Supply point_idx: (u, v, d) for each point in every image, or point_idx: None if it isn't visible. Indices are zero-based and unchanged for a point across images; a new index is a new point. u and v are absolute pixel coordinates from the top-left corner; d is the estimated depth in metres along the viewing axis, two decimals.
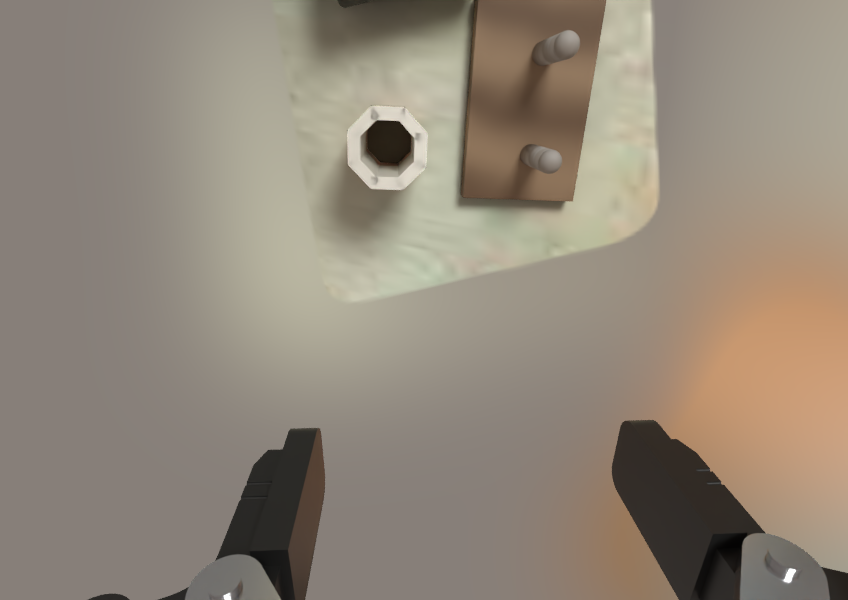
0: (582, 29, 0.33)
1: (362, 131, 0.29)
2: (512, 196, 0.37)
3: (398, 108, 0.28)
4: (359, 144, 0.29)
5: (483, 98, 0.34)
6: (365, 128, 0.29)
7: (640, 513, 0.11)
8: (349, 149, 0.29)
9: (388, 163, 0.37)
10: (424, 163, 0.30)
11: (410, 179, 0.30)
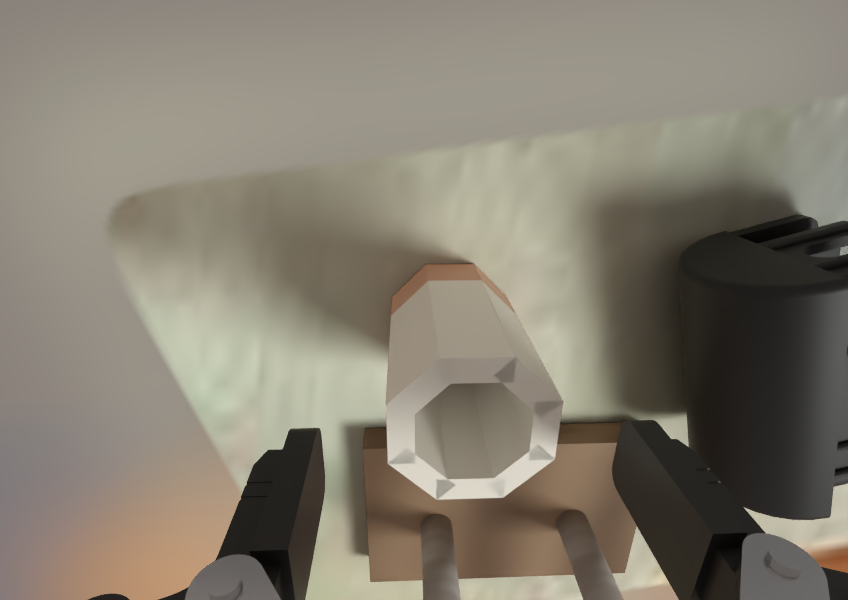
0: None
1: (511, 386, 0.13)
2: (370, 512, 0.23)
3: (553, 449, 0.14)
4: (484, 380, 0.13)
5: None
6: (517, 391, 0.13)
7: (640, 513, 0.11)
8: (473, 361, 0.12)
9: None
10: (444, 495, 0.14)
11: (411, 476, 0.14)
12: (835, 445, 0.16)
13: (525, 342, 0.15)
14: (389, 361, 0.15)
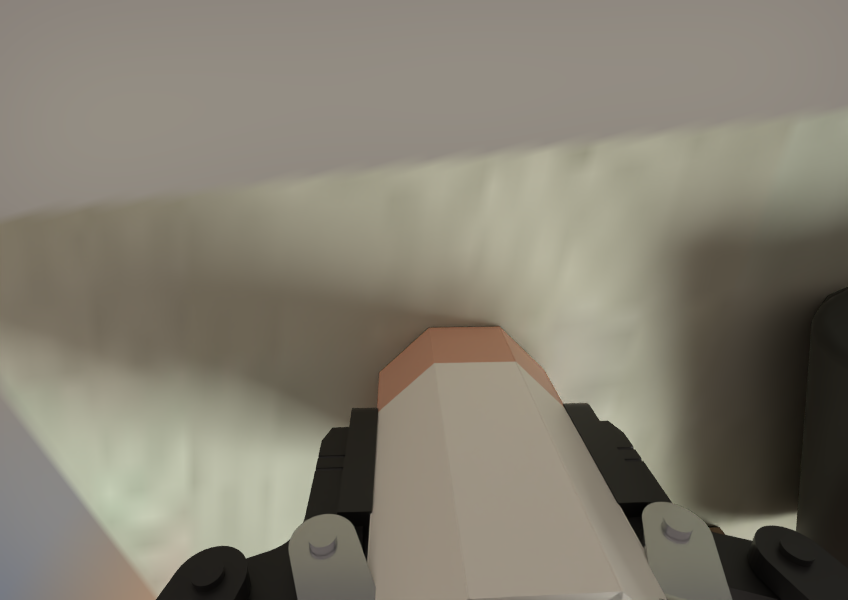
0: None
1: None
2: None
3: None
4: None
5: None
6: None
7: None
8: None
9: None
10: None
11: None
12: None
13: (601, 489, 0.09)
14: (371, 530, 0.09)
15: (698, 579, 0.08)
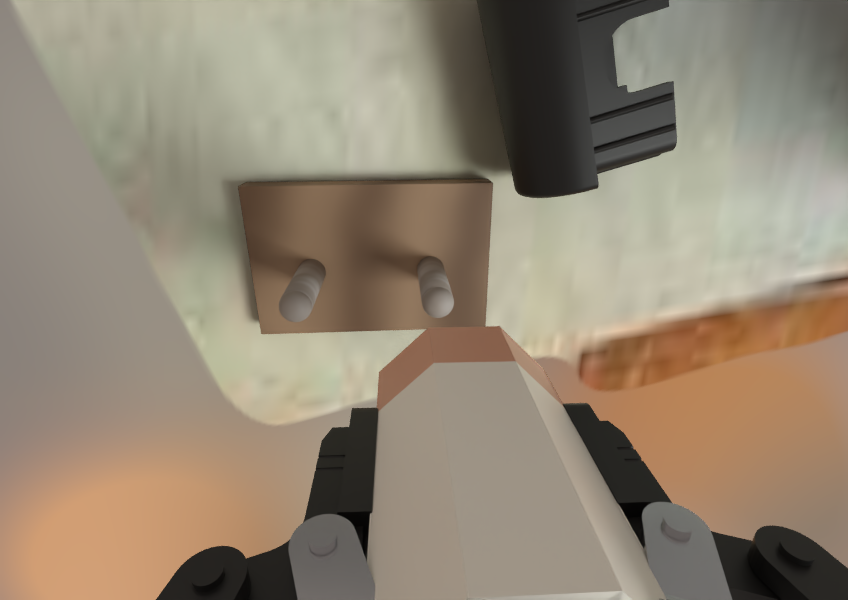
0: (456, 308, 0.29)
1: None
2: (253, 256, 0.27)
3: None
4: None
5: (374, 201, 0.26)
6: None
7: None
8: None
9: None
10: None
11: None
12: (587, 106, 0.20)
13: (601, 489, 0.09)
14: (371, 530, 0.09)
15: (698, 579, 0.08)
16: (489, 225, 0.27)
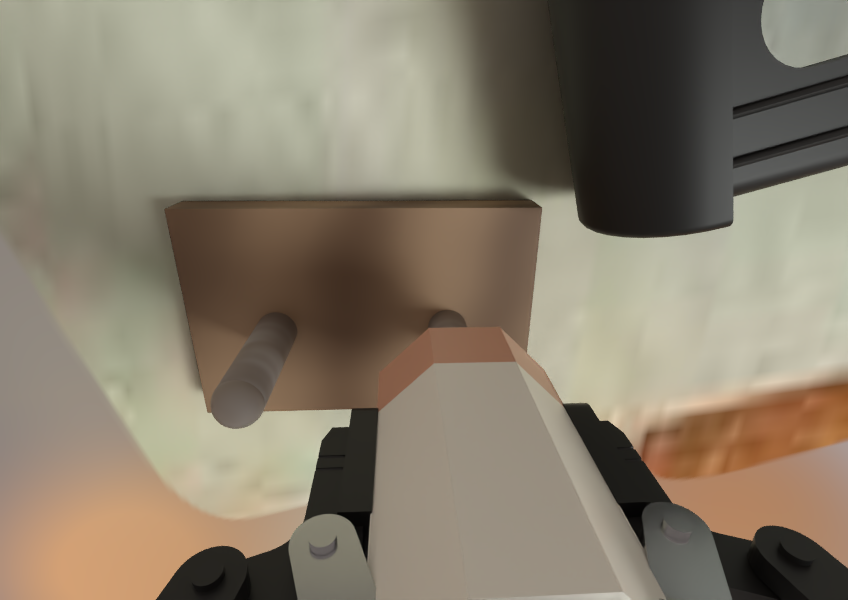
0: None
1: None
2: (191, 308, 0.18)
3: None
4: None
5: (367, 233, 0.18)
6: None
7: None
8: None
9: None
10: None
11: None
12: (730, 90, 0.12)
13: (601, 490, 0.09)
14: (371, 531, 0.09)
15: (697, 579, 0.08)
16: (534, 267, 0.18)
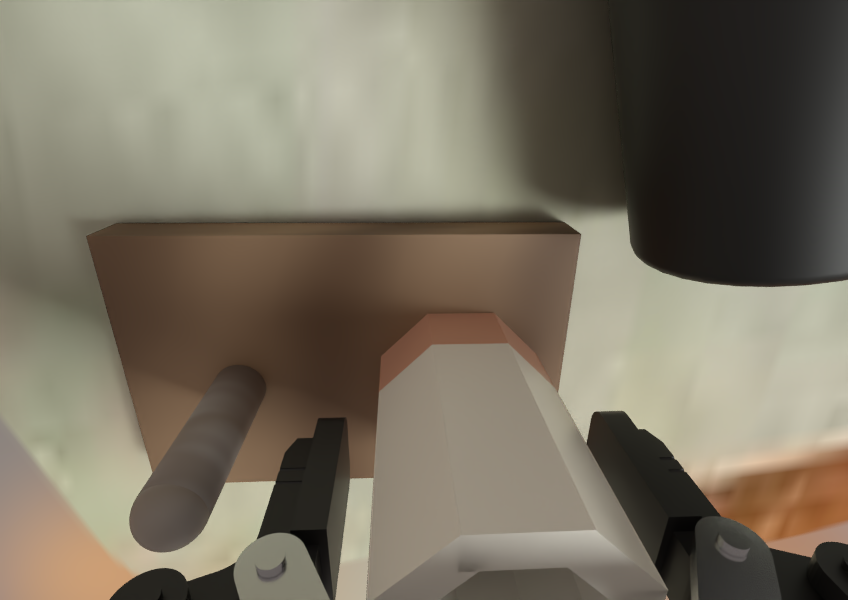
0: None
1: (584, 572, 0.07)
2: (128, 361, 0.14)
3: None
4: (537, 563, 0.07)
5: (354, 266, 0.14)
6: (592, 578, 0.08)
7: None
8: (521, 538, 0.07)
9: None
10: None
11: None
12: None
13: (584, 455, 0.10)
14: (374, 491, 0.10)
15: (751, 597, 0.07)
16: (567, 309, 0.14)
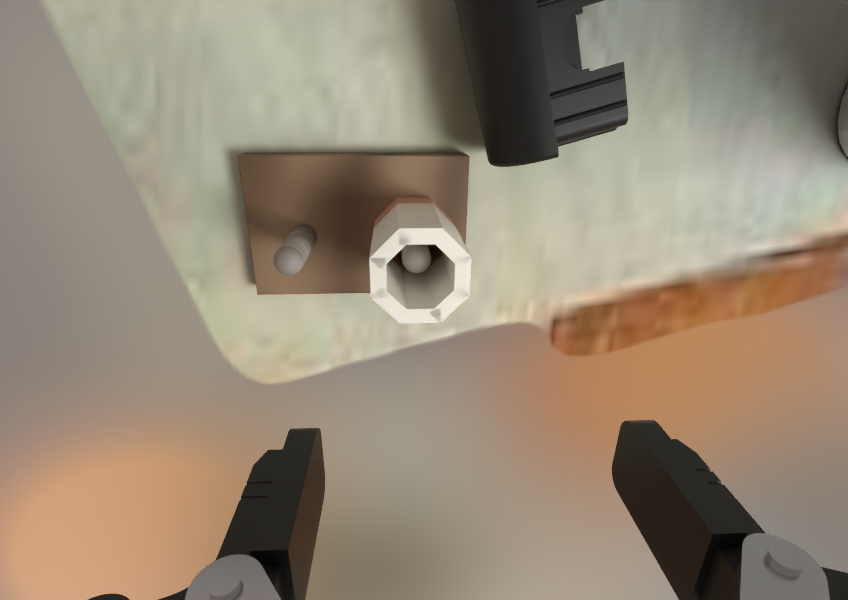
0: None
1: (441, 247, 0.22)
2: (250, 221, 0.29)
3: (468, 288, 0.23)
4: (425, 243, 0.22)
5: (361, 172, 0.29)
6: (444, 250, 0.23)
7: (640, 513, 0.11)
8: (418, 230, 0.22)
9: None
10: (405, 321, 0.24)
11: (384, 306, 0.23)
12: (547, 82, 0.23)
13: (455, 234, 0.25)
14: (371, 244, 0.25)
15: None
16: (466, 195, 0.29)
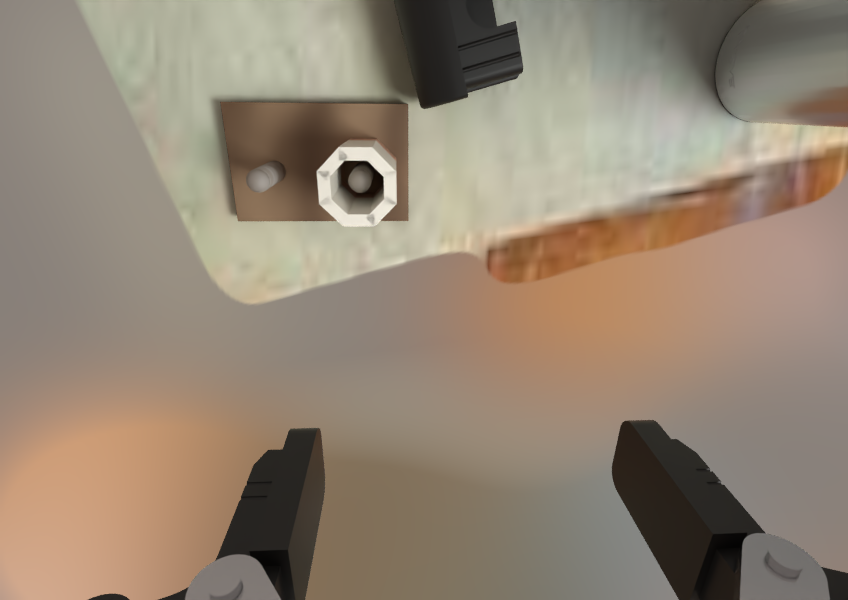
0: None
1: (372, 162, 0.29)
2: (231, 157, 0.36)
3: (395, 198, 0.30)
4: (359, 159, 0.29)
5: (320, 116, 0.35)
6: (375, 165, 0.29)
7: (640, 513, 0.11)
8: (353, 149, 0.29)
9: (343, 171, 0.36)
10: (347, 224, 0.31)
11: (330, 211, 0.30)
12: (455, 36, 0.29)
13: (389, 159, 0.32)
14: None
15: None
16: (407, 137, 0.36)
